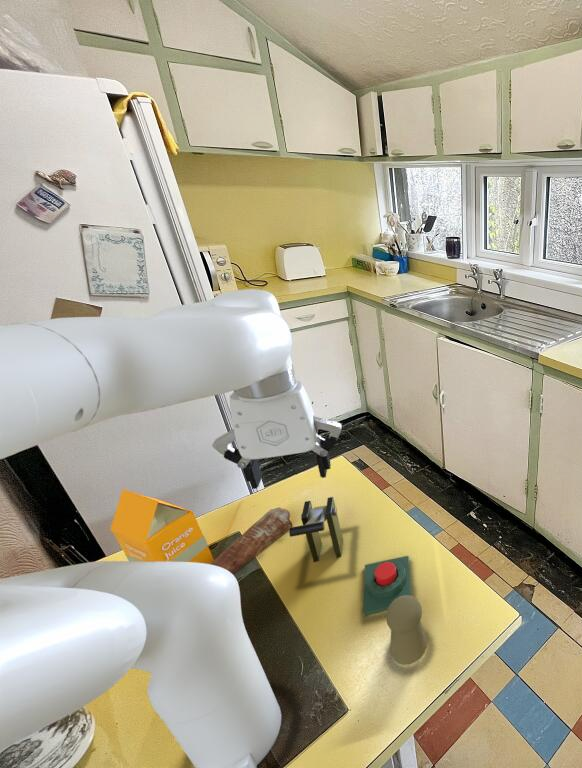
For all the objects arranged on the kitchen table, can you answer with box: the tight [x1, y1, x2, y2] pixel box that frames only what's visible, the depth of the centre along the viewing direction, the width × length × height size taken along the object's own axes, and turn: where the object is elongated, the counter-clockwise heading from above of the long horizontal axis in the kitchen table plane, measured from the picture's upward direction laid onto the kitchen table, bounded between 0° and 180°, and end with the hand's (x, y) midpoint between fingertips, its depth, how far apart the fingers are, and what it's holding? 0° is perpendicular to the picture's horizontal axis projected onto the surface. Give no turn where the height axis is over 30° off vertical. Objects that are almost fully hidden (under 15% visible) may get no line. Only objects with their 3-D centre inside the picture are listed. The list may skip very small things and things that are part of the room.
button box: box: [362, 555, 413, 617], centre depth 74 cm, size 10×8×4 cm
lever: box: [288, 505, 327, 538], centre depth 72 cm, size 12×5×2 cm, turn 16°
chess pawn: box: [385, 595, 428, 666], centre depth 63 cm, size 6×6×11 cm
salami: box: [211, 507, 293, 576], centre depth 79 cm, size 6×19×6 cm, turn 156°
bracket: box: [300, 496, 344, 563], centre depth 79 cm, size 12×9×13 cm
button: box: [375, 562, 397, 586], centre depth 73 cm, size 4×4×2 cm
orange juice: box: [109, 488, 215, 564], centre depth 72 cm, size 8×9×20 cm
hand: (291, 477), depth 65 cm, fingers open, 9 cm apart
